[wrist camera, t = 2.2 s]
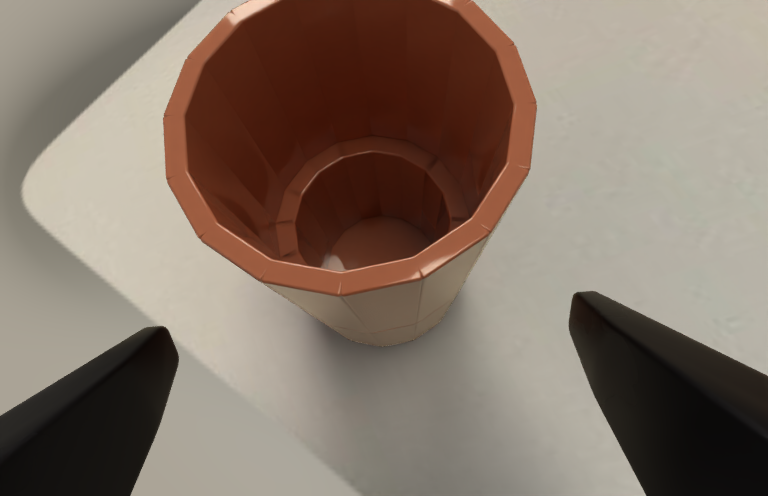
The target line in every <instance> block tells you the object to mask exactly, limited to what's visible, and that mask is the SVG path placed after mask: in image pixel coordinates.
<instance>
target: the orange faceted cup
mask: <svg viewBox="0 0 768 496" xmlns="http://www.w3.org/2000/svg"><path fill="white" fill-rule="evenodd" d="M536 112H537V105H536V99H535V97H534V94H533V91H532V88H531V86H530V83H529V80H528V77H527V75H526V72H525V69H524V67H523V64H522V61H521V58H520V56H519V53H518V50H517V47H516V46H515V45H514V42H513V41H512V40H511V39H510V38H509V37H508V36H507V35H506V34H505V33H504V32H503V31H502V30H501V29H500V28H499V27H498V26H497V25H496V24H495V23H494V22H493V21H492V20H491V19H490V18H489V17H488V16H487V15H486V14H485V13H484V12H483V11H482V10H481V9H480V8H479V7H478V6H477V5H476V3H475V2H474V1H471V0H249V1H247V2H245V3H243V4H241V5H240V6H238V7H236V8H234V9H232V10H231V12H228V13H227V14H226V15H225V16H224V17H223V19H222V20H221V21H220V22H219V23H218V24H217V25H216V26H215V27H214V28H213V29H212V30H211V32H210V33H209V34H208V35H207V36H206V37H205V38H204V39H203V40H202V41H201V42H200V43H199V45H198V46H197V47H196V48H195V49H194V50H193V51H192V52H191V53H190V54H189V55H188V57H187V59H186V60H185V62H184V65H183V67H182V70H181V72H180V75H179V77H178V80H177V82H176V85H175V87H174V90H173V93H172V95H171V98H170V100H169V103H168V105H167V108H166V110H165V113H164V118H163V125H164V146H165V166H166V179H167V183H168V185H169V187H170V188H171V190H172V192H173V194H174V196H175V197H176V199H177V201H178V203H179V204H180V206H181V208H182V210H183V212H184V213H185V215H186V217H187V219H188V220H189V222H190V224H191V226H192V228H193V229H194V231H195V233H196V235H197V237H198V238H199V239H201V241H202V242H203V243H204V244H206V245H207V246H209V247H210V248H212V249H213V250H215V251H216V252H217V253H219V254H220V255H222V256H223V257H225V258H226V259H228V260H229V261H230V262H232V263H233V264H235V265H236V266H238V267H239V268H241V269H242V270H244V271H245V272H246V273H248V274H249V275H251V276H252V277H254V278H255V279H257V280H258V281H260V282H261V283H263V284H264V285H266V286H267V287H269V288H270V289H272V290H273V291H275V292H276V293H278V294H280V295H281V296H283V297H284V298H286V299H287V300H289V301H290V302H292V303H293V304H295V305H296V306H298V307H300V308H301V309H303V310H304V311H306V312H307V313H309V314H310V315H312V316H313V317H315V318H316V319H318V320H320V321H321V322H323V323H324V324H326V325H327V326H329V327H330V328H332V329H333V330H335V331H337V332H338V333H340V334H341V335H343V336H344V337H346V338H347V339H349V340H351V341H354V342H359V343H364V344H369V345H374V346H379V347H382V346H383V347H385V346H390V345H395V344H399V343H404V342H409V341H413V339H414V340H415V339H417V338H418V337H420V336H421V335H422V334H424V333H425V332H427V331H428V330H430V329H431V328H433V327H434V326H435V325H437V324H438V323H439V322H440V321H441V320H442V318H443V317H444V315H445V314H446V312H447V310H448V309H449V307H450V306H451V304H452V302H453V301H454V299H455V298H456V296H457V294H458V293H459V291H460V289H461V287H462V286H463V284H464V282H465V281H466V279H467V277H468V276H469V274H470V272H471V270H472V269H473V267H474V265H475V264H476V262H477V260H478V259H479V257H480V255H481V254H482V252H483V250H484V248H485V247H486V245H487V243H488V242H489V240H490V238H491V237H492V235H493V233H494V232H495V230H496V228H497V226H498V225H499V223H500V221H501V220H502V218H503V216H504V215H505V213H506V211H507V209H508V208H509V206H510V204H511V203H512V201H513V199H514V198H515V196H516V194H517V193H518V191H519V189H520V187H521V186H522V184H523V182H524V181H525V179H526V177H527V176H528V174H529V170H530V167H531V158H532V148H533V139H534V130H535V121H536Z"/></svg>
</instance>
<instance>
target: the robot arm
mask: <svg viewBox="0 0 768 496" xmlns="http://www.w3.org/2000/svg"><path fill="white" fill-rule="evenodd" d="M569 331H570V335H571V337H572V340H573V342H574V345H575V348H576V350H577V353H578V355H579V358H580V361H581V363H582V366H583V368H584V371H585V374H586V376H587V379H588V381H589V384H590V386H591V389H592V391H593V394H594V396H595V398H596V400H597V402H598V404H599V406H600V408H601V410H602V412H603V414H604V416H605V417H606V419H607V421H608V423H609V425H610V427H611V429H612V431H613V433H614V435H615V437H616V439H617V440H618V442H619V444H620V446H621V448H622V450H623V452H624V454H625V456H626V458H627V460H628V461H629V463H630V465H631V467H632V469H633V471H634V473H635V475H636V477H637V479H638V481H639V482H640V484H641V486H642V488H643V490H644V492H645V494H646V496H768V376H767V375H765V374H763V373H761V372H759V371H757V370H755V369H753V368H751V367H748V366H746V365H744V364H742V363H740V362H738V361H736V360H734V359H732V358H730V357H728V356H726V355H724V354H722V353H720V352H718V351H716V350H714V349H712V348H710V347H708V346H706V345H704V344H702V343H699V342H697V341H695V340H693V339H691V338H689V337H687V336H685V335H683V334H681V333H679V332H677V331H675V330H673V329H671V328H669V327H667V326H665V325H663V324H661V323H659V322H657V321H655V320H653V319H651V318H648V317H646V316H644V315H642V314H640V313H638V312H636V311H634V310H632V309H630V308H628V307H626V306H624V305H622V304H620V303H618V302H616V301H614V300H612V299H610V298H608V297H606V296H604V295H602V294H599V293H597V292H595V291H586V292H577V293H575V294H574V295H573V298H572V303H571V310H570V317H569ZM178 362H179V356H178V352H177V350H176V347H175V345H174V342H173V340H172V338H171V335H170V333H169V331H168V329H167V328H166V327H164V326H155V327H146V328H144V329H142V330H140V331H139V332H137V333H135V334H134V335H132V336H130V337H129V338H127V339H125V340H124V341H122V342H121V343H119V344H117V345H116V346H114V347H112V348H111V349H109V350H107V351H106V352H104V353H103V354H101V355H99V356H98V357H96V358H94V359H93V360H91V361H89V362H88V363H86V364H85V365H83V366H81V367H80V368H78V369H76V370H75V371H73V372H71V373H70V374H68V375H66V376H65V377H64V378H62V379H60V380H58V381H57V382H55V383H54V384H52V385H50V386H48V387H47V388H45V389H44V390H42V391H40V392H39V393H37V394H36V395H34V396H32V397H30V398H29V399H27V400H26V401H24V402H22V403H21V404H19V405H17V406H16V407H14V408H13V409H11V410H9V411H8V412H6V413H4V414H3V415H1V416H0V496H130V495H131V492H132V490H133V488H134V485H135V483H136V480H137V478H138V476H139V473H140V471H141V469H142V467H143V464H144V462H145V459H146V457H147V455H148V452H149V450H150V448H151V445H152V443H153V441H154V438H155V435H156V433H157V430H158V428H159V425H160V422H161V419H162V416H163V413H164V410H165V407H166V403H167V400H168V397H169V394H170V390H171V387H172V384H173V380H174V377H175V374H176V371H177V367H178Z"/></svg>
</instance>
